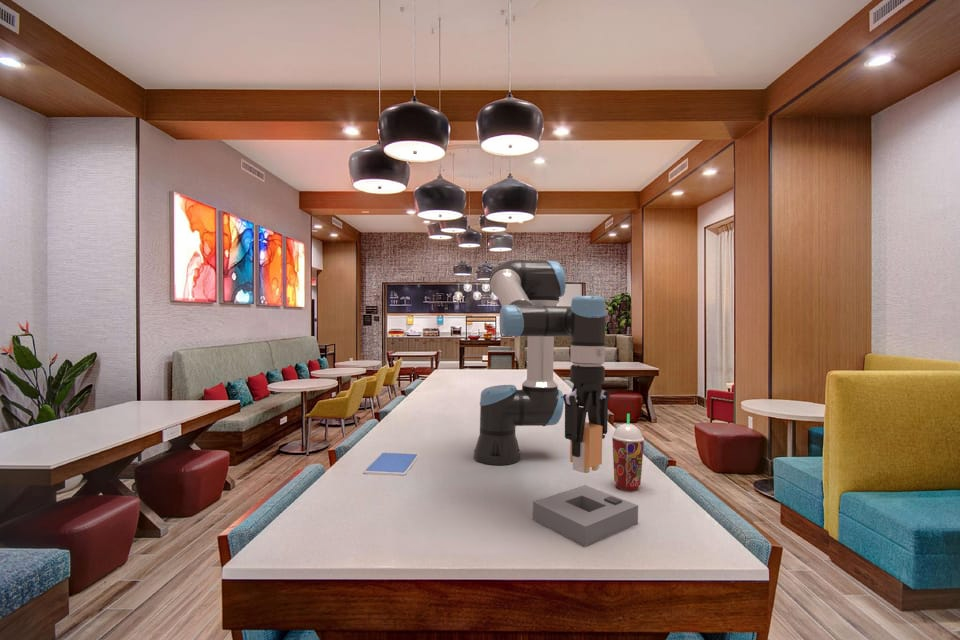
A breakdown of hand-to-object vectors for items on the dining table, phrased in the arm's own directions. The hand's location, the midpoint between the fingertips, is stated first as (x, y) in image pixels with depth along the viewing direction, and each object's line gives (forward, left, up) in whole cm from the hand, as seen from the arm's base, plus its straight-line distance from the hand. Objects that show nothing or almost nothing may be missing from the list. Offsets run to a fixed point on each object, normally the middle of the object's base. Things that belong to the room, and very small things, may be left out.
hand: (586, 468), depth 101 cm
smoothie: (-7, +26, -12) cm, 30 cm away
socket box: (0, 0, -12) cm, 12 cm away
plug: (0, 0, 0) cm, 0 cm away
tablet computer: (-61, -17, -13) cm, 64 cm away
